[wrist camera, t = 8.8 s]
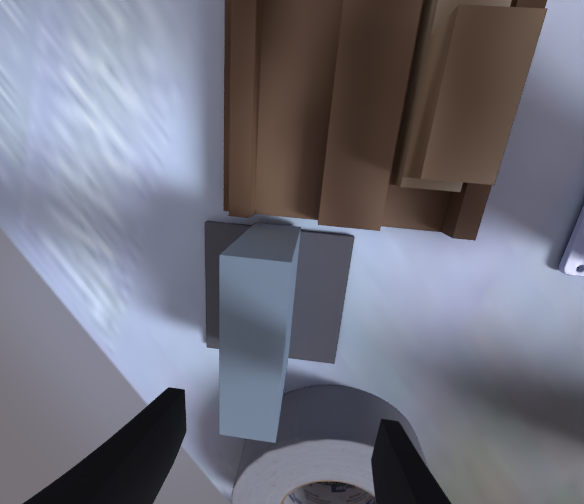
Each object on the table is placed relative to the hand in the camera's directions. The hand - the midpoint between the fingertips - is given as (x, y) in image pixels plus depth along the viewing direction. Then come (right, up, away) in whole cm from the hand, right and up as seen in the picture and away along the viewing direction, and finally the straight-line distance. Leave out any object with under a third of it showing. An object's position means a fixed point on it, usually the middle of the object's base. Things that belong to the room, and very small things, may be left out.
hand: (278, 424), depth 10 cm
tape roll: (+4, -12, +15) cm, 19 cm away
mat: (-1, +3, +10) cm, 10 cm away
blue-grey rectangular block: (-1, +3, +9) cm, 10 cm away
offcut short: (+8, +13, +3) cm, 15 cm away
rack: (+4, +15, +6) cm, 17 cm away
